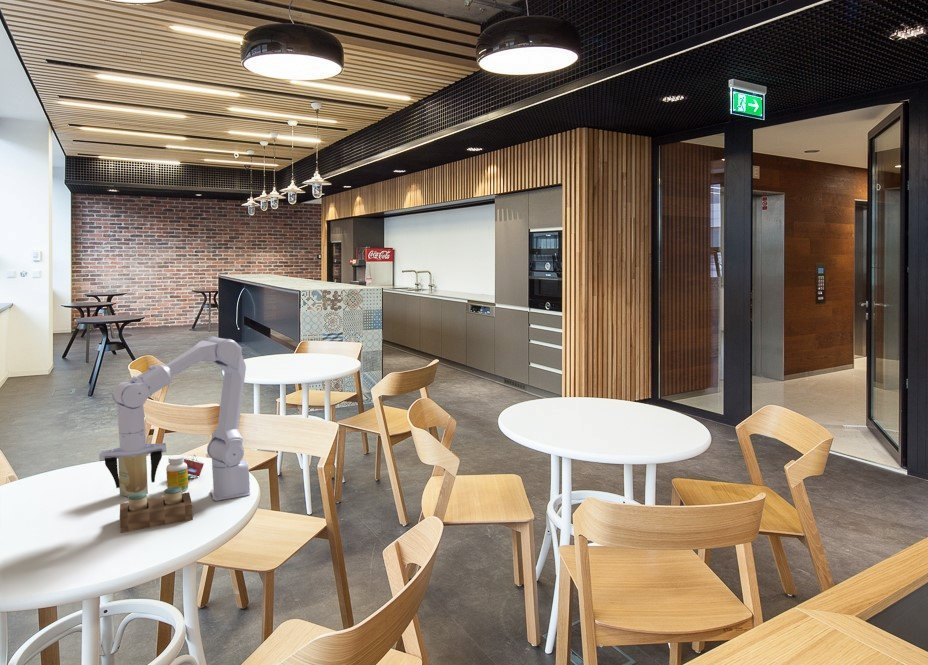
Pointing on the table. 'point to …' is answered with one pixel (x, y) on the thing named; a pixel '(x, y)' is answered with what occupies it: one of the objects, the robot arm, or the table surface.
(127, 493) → the skincare box
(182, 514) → the walnut block
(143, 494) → the peg
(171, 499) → the peg
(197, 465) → the geometric puzzle
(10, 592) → the table surface
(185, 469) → the supplement bottle
